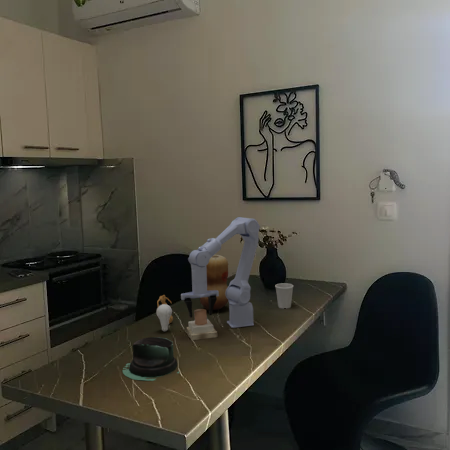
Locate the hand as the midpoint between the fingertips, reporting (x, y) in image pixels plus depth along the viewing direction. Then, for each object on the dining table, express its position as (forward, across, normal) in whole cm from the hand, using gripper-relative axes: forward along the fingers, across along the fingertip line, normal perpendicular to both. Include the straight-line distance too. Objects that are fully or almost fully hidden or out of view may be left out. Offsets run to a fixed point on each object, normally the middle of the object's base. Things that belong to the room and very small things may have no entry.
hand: (200, 315), depth 183 cm
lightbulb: (+8, -13, +8) cm, 17 cm away
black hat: (+8, -22, -25) cm, 34 cm away
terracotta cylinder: (+3, 0, 0) cm, 3 cm away
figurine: (+8, -11, +18) cm, 22 cm away
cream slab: (+6, 0, 0) cm, 6 cm away
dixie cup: (+8, +44, +22) cm, 50 cm away
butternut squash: (+8, +13, +29) cm, 33 cm away
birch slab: (+8, 0, 0) cm, 8 cm away
